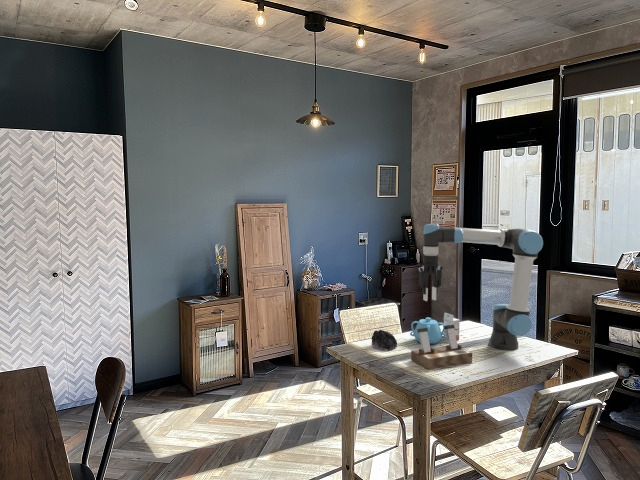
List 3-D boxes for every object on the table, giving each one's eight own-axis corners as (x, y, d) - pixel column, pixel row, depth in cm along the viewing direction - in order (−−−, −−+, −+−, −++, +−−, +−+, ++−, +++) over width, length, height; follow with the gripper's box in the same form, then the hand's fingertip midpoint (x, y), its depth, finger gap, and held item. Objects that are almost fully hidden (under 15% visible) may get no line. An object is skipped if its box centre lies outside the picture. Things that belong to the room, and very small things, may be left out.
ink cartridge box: (459, 339, 275) (460, 314, 274) (452, 341, 273) (453, 315, 272) (449, 336, 283) (450, 311, 282) (442, 337, 281) (443, 312, 280)
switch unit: (454, 354, 250) (454, 341, 249) (472, 362, 237) (472, 348, 236) (411, 360, 240) (411, 346, 240) (427, 369, 227) (427, 355, 227)
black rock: (401, 350, 258) (402, 332, 259) (380, 351, 253) (381, 332, 253) (387, 345, 270) (388, 327, 271) (366, 346, 265) (367, 328, 265)
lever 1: (429, 351, 238) (424, 328, 241) (431, 351, 236) (427, 327, 239) (421, 352, 236) (417, 329, 239) (423, 352, 234) (419, 328, 237)
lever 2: (456, 348, 244) (451, 325, 247) (458, 347, 242) (454, 324, 245) (448, 349, 242) (444, 326, 245) (451, 348, 240) (446, 325, 243)
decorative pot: (448, 343, 268) (449, 319, 267) (425, 347, 261) (426, 322, 260) (429, 336, 283) (430, 313, 282) (407, 339, 276) (407, 316, 275)
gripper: (440, 253, 251) (439, 297, 253) (411, 254, 245) (410, 300, 247) (449, 254, 244) (448, 300, 246) (420, 256, 238) (419, 303, 240)
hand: (429, 300), depth 246 cm, fingers open, 4 cm apart
